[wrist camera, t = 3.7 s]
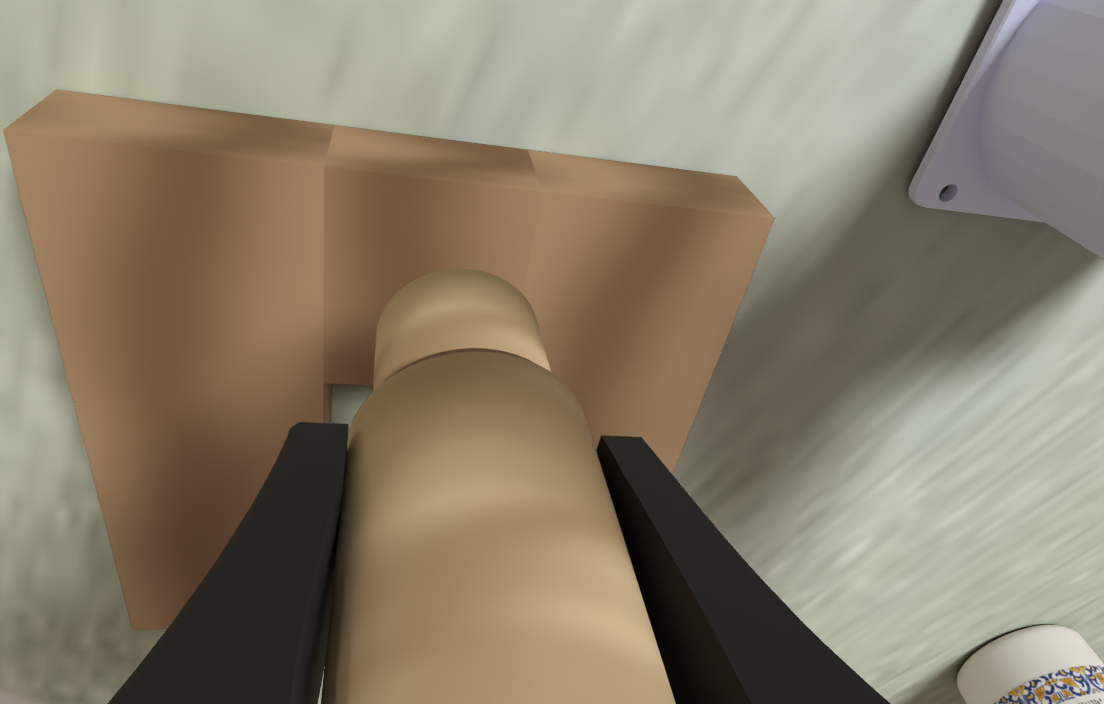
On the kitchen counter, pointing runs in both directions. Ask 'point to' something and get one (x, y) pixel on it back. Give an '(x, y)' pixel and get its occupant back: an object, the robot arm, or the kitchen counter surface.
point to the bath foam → (1034, 669)
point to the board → (337, 292)
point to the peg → (479, 522)
